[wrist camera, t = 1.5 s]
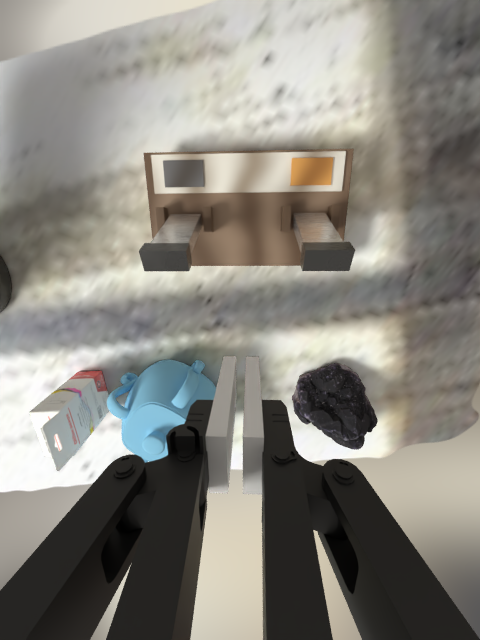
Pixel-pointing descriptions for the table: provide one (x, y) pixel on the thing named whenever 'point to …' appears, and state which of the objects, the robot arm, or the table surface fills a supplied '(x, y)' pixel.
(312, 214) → the lever
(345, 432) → the black rock
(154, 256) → the lever
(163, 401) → the decorative pot
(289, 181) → the switch unit
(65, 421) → the ink cartridge box
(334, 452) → the table surface
